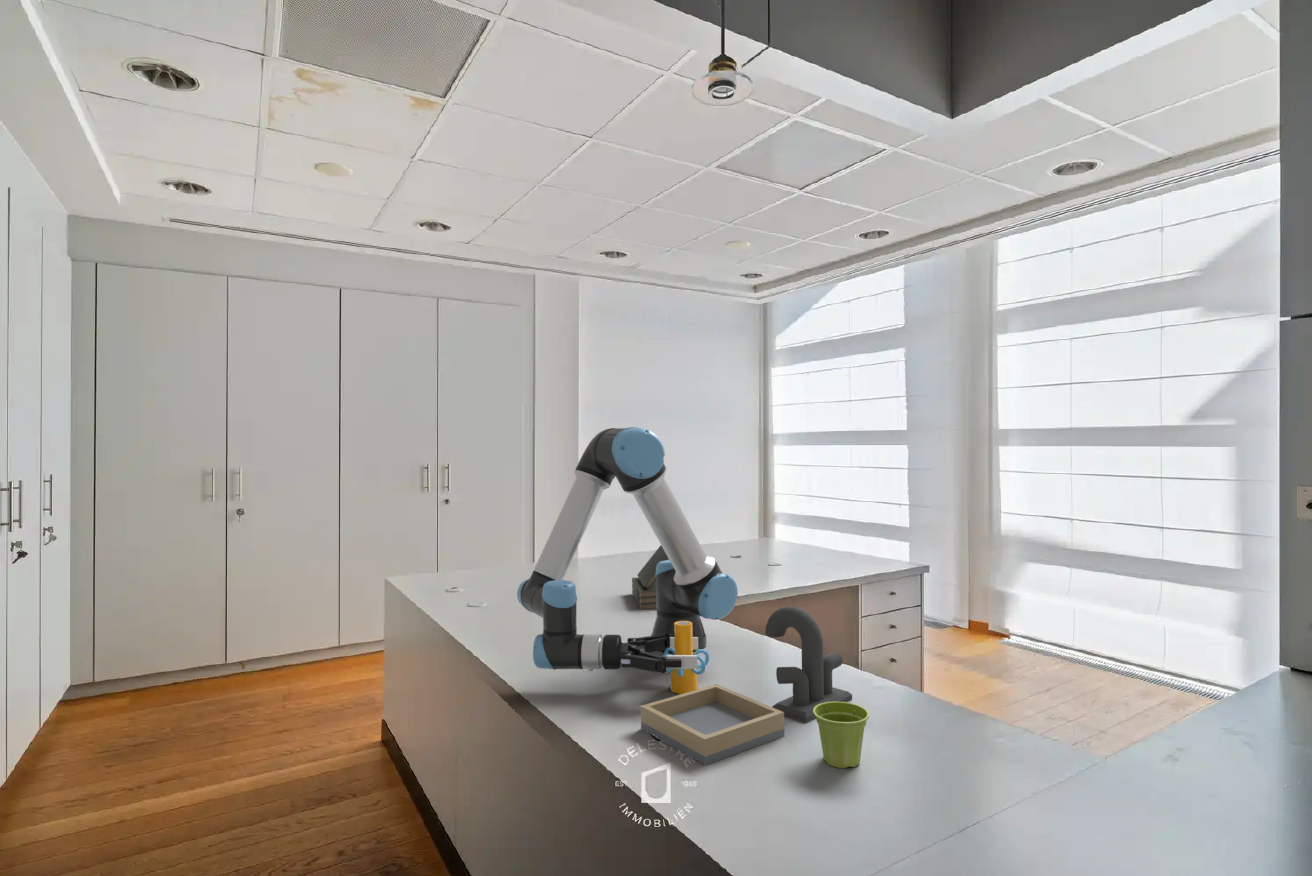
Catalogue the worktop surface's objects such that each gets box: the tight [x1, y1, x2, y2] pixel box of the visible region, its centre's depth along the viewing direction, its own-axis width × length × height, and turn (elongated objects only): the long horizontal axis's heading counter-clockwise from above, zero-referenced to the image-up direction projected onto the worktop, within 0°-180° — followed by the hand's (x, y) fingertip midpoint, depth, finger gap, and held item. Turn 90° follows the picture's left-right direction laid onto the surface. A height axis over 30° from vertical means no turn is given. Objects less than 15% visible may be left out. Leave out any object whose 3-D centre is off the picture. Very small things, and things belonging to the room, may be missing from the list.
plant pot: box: [813, 701, 870, 769], centre depth 125 cm, size 9×9×9 cm
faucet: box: [764, 605, 853, 724], centre depth 154 cm, size 18×16×20 cm
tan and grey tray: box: [640, 683, 785, 766], centre depth 138 cm, size 19×19×4 cm
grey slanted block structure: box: [631, 544, 669, 611], centre depth 247 cm, size 23×20×25 cm
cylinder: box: [662, 621, 710, 695], centre depth 161 cm, size 12×10×15 cm
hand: (697, 652), depth 161 cm, fingers open, 13 cm apart
